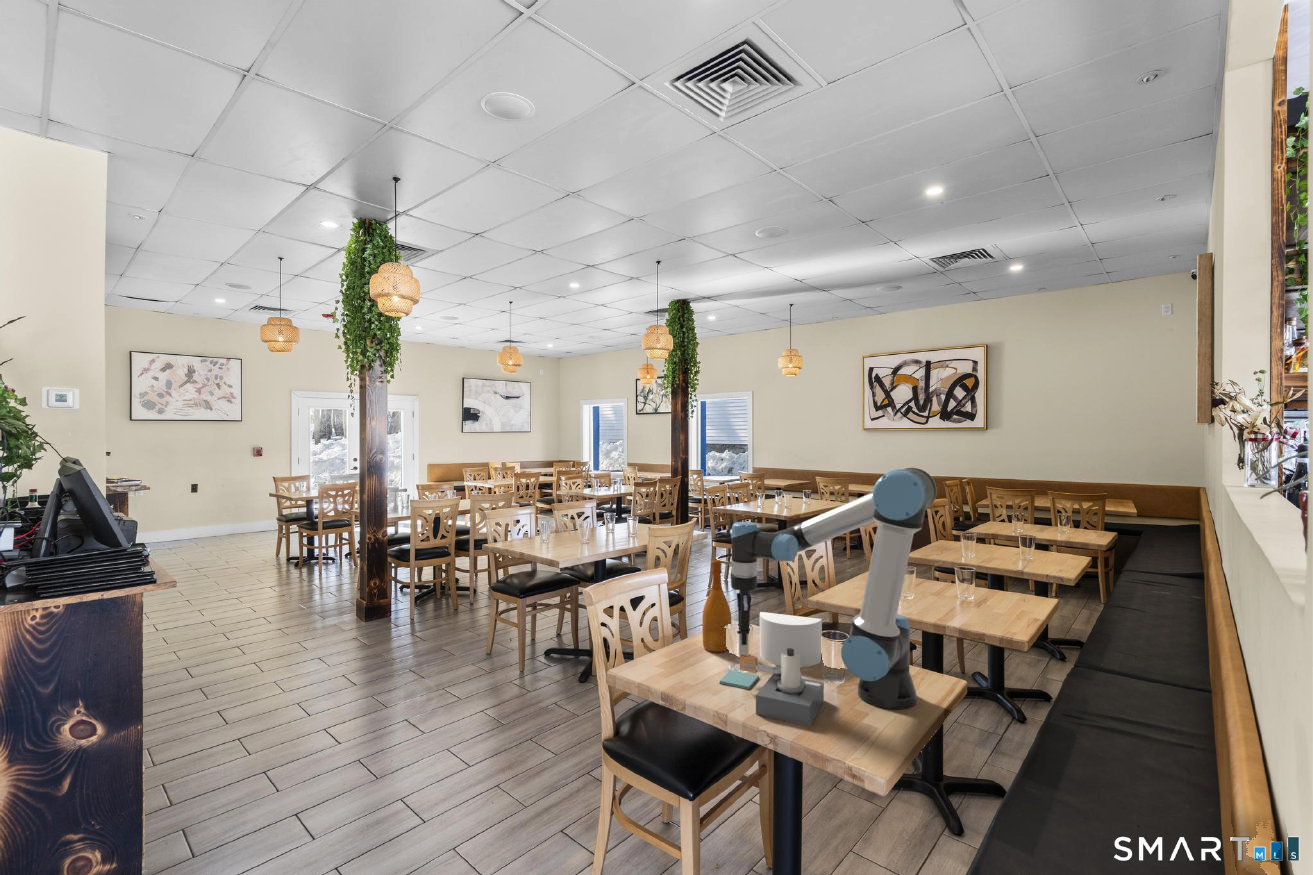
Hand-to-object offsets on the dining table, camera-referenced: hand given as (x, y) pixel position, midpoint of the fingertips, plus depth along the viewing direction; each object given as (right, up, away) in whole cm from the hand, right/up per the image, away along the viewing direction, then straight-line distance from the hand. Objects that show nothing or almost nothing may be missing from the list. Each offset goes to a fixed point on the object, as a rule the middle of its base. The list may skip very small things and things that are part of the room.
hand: (743, 654), depth 180 cm
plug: (+10, -8, -18) cm, 22 cm away
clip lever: (+6, -2, -11) cm, 12 cm away
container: (+18, -8, +19) cm, 28 cm away
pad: (-1, -8, -1) cm, 8 cm away
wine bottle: (-5, -8, +26) cm, 28 cm away
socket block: (+10, -8, -18) cm, 22 cm away
